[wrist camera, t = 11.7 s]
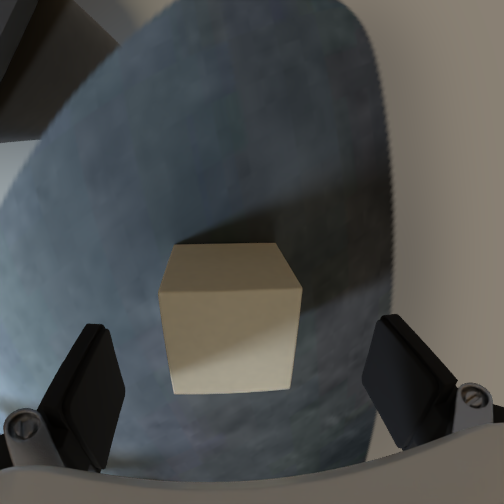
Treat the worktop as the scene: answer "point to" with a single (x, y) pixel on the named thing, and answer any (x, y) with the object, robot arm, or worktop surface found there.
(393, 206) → the worktop surface
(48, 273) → the worktop surface
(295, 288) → the block
